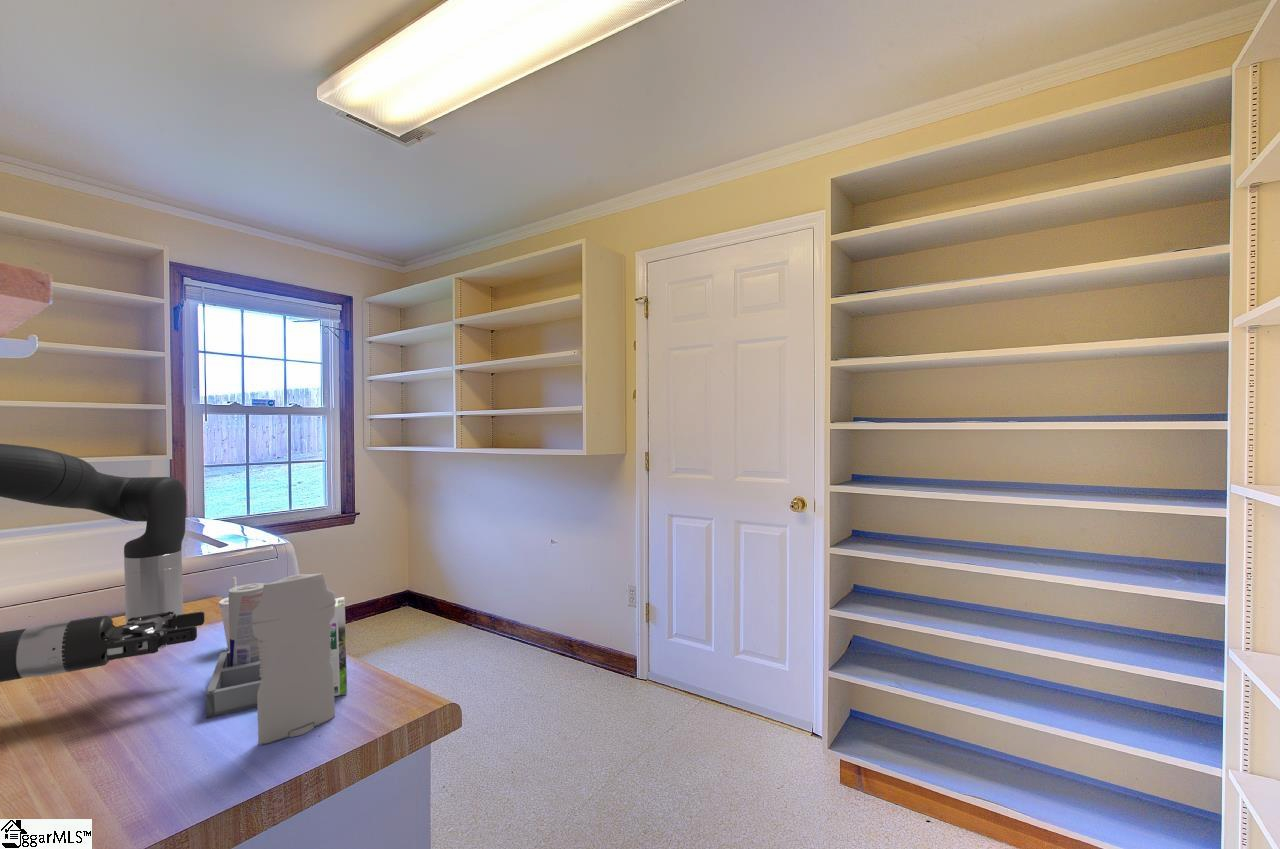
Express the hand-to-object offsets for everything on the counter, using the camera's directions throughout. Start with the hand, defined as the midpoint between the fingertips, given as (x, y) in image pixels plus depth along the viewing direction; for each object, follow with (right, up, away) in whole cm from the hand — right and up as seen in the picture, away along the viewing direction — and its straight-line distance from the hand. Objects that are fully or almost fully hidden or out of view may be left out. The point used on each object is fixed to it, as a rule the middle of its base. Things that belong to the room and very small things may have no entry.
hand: (200, 625), depth 95 cm
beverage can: (+6, -10, +3) cm, 12 cm away
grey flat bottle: (+25, -10, -14) cm, 31 cm away
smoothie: (-5, -11, +17) cm, 20 cm away
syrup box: (+23, -10, -3) cm, 25 cm away
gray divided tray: (+8, -10, 0) cm, 13 cm away
